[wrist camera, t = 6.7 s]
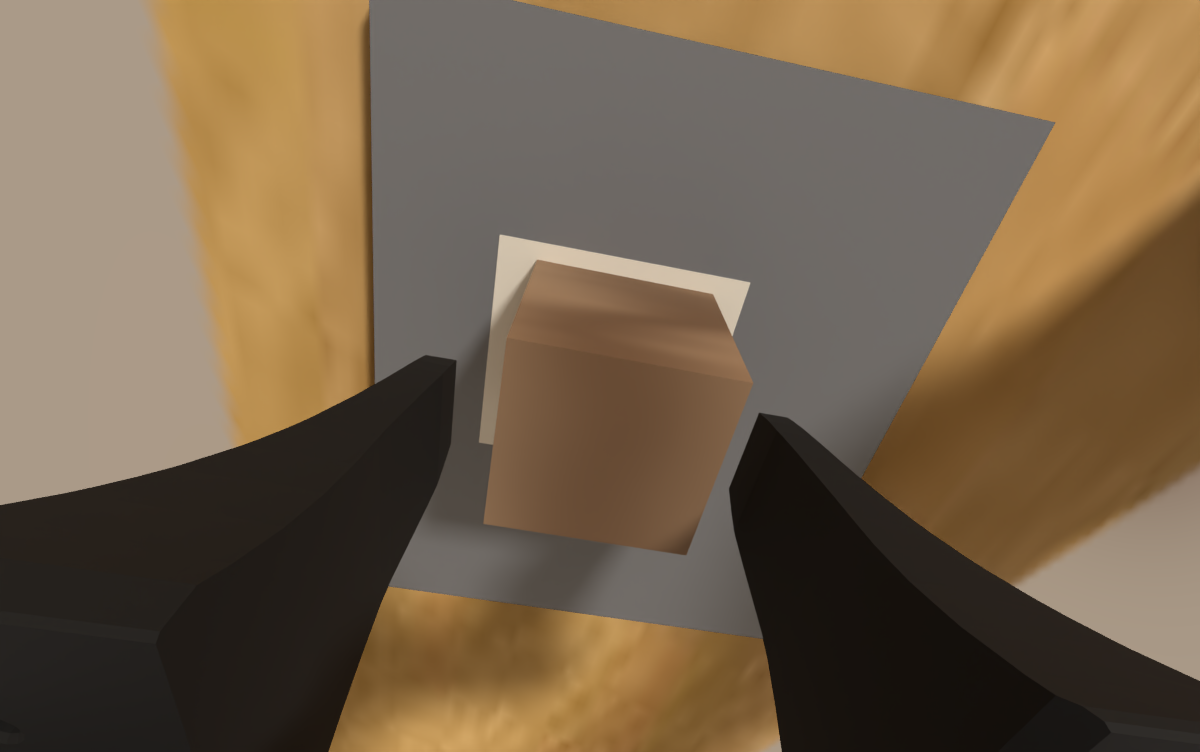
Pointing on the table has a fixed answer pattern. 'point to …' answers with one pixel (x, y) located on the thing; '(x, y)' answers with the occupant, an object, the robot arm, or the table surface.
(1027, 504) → the table surface
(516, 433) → the walnut block
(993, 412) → the table surface
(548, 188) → the baseplate
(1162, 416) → the table surface
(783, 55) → the table surface
